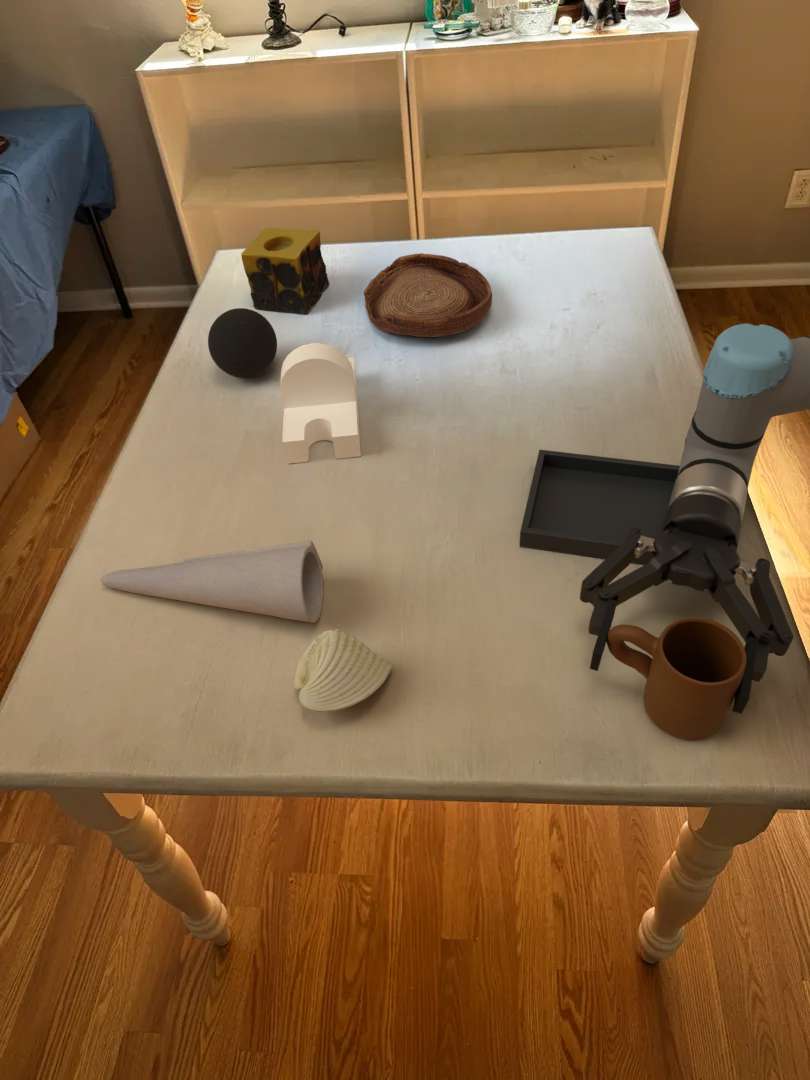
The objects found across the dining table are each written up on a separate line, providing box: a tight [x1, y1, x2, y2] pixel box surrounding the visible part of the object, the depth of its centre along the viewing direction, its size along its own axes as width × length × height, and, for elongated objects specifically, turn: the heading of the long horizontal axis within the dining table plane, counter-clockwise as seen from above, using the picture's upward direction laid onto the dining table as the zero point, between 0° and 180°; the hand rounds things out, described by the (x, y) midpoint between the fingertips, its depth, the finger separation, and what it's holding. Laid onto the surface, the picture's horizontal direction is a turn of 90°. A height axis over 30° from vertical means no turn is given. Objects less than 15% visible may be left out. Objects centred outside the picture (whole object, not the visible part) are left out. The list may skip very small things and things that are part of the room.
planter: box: [100, 540, 324, 624], centre depth 86 cm, size 8×9×26 cm
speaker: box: [207, 307, 278, 379], centre depth 116 cm, size 10×10×10 cm
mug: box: [606, 616, 747, 740], centre depth 72 cm, size 12×8×9 cm, turn 63°
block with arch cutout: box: [279, 342, 362, 465], centre depth 106 cm, size 18×10×11 cm, turn 4°
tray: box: [519, 449, 680, 566], centre depth 92 cm, size 15×19×3 cm
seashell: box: [293, 628, 393, 713], centre depth 77 cm, size 8×8×8 cm
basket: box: [363, 253, 493, 338], centre depth 126 cm, size 22×20×5 cm
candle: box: [240, 227, 330, 315], centre depth 130 cm, size 10×10×10 cm
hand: (665, 683), depth 70 cm, fingers closed on mug, 12 cm apart
